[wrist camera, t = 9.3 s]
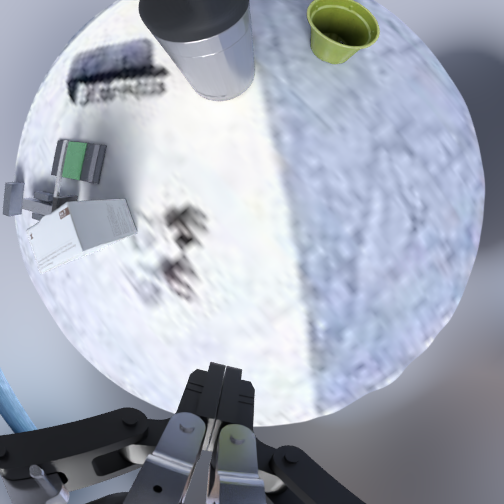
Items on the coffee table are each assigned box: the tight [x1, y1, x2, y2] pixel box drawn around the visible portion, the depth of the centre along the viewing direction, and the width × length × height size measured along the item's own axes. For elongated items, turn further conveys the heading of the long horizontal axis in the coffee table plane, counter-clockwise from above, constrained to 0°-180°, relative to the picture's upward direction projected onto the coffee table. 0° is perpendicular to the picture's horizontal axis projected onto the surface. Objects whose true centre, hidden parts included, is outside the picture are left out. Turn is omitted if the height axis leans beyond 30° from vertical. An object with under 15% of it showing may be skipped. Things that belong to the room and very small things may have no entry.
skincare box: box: [26, 198, 137, 274], centre depth 31 cm, size 8×6×15 cm
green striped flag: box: [3, 141, 107, 221], centre depth 35 cm, size 14×22×4 cm
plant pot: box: [307, 0, 380, 64], centre depth 27 cm, size 9×9×9 cm
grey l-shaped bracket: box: [22, 140, 78, 215], centre depth 33 cm, size 14×12×5 cm
